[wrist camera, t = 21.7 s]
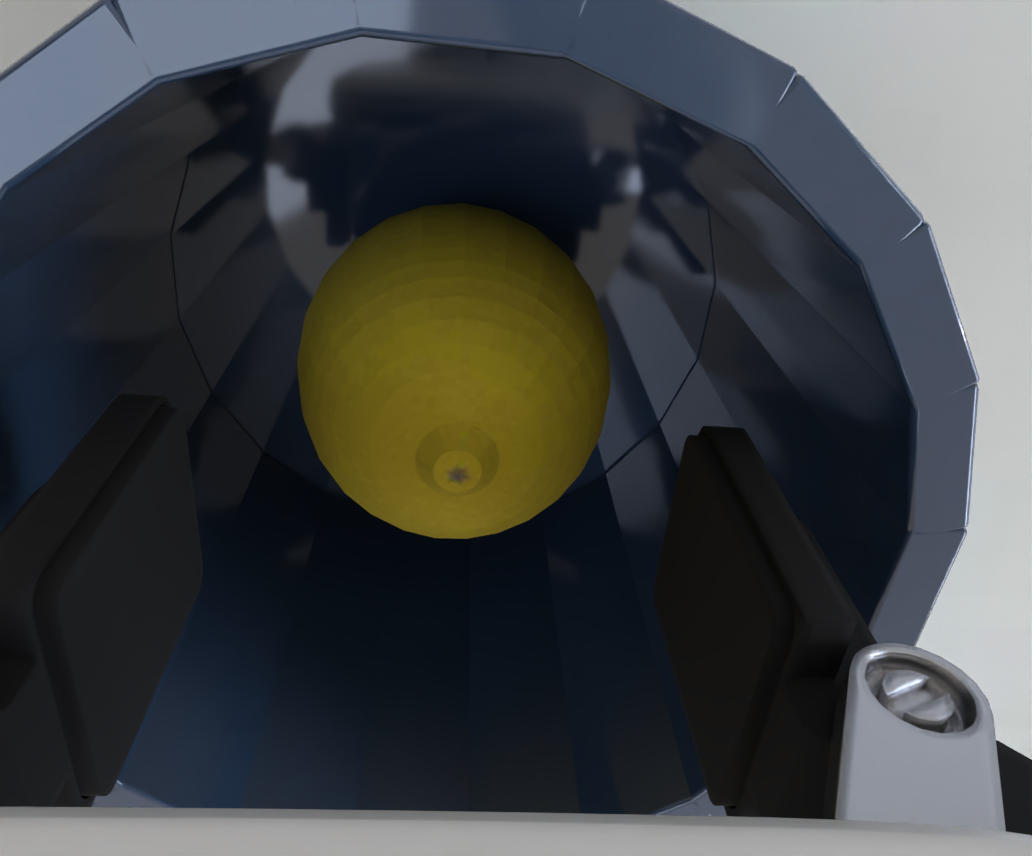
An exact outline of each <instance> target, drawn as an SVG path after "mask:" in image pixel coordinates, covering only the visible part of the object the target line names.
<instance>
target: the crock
mask: <svg viewBox="0 0 1032 856" xmlns="http://www.w3.org/2000/svg"><path fill="white" fill-rule="evenodd" d="M459 203H464V204H470V205H475V206H480V207H485V208H490V209H495V210H500V211H502V212H504V213H506V214H508V215H510V216H512V217H515V218H517V219H519V220H521V221H523V222H525V223H527V224H529V225H531V226H533V227H535V228H537V229H538V230H539V231H540V232H541V233H543V234H544V235H545V236H546V237H547V238H548V239H550V240H551V241H552V242H553V243H554V244H555V245H557V246H558V247H559V248H560V249H561V250H562V251H564V252H565V253H566V254H567V255H568V256H569V258H570V259H571V260H572V262H573V263H574V265H575V266H576V268H577V269H578V271H579V272H580V274H581V275H582V276H583V278H584V279H585V281H586V282H587V284H588V285H589V287H590V288H591V290H592V292H593V294H594V297H595V300H596V303H597V306H598V309H599V311H600V314H601V317H602V320H603V323H604V326H605V329H606V332H607V336H608V344H609V361H610V378H611V383H610V393H609V398H608V403H607V408H606V413H605V417H604V422H603V427H602V431H601V434H600V437H599V440H598V442H597V444H596V446H595V448H594V449H593V451H592V453H591V455H590V457H589V459H588V461H587V463H586V465H585V467H584V469H583V470H582V472H581V473H580V475H579V476H578V477H577V478H576V480H575V481H574V482H573V483H572V484H571V485H570V486H569V487H568V489H567V490H566V491H565V492H564V493H563V494H562V495H561V497H560V498H559V499H558V500H557V501H555V502H554V503H552V504H551V505H550V506H548V507H547V508H545V509H544V510H543V511H541V512H540V513H538V514H537V515H536V516H534V517H533V518H531V519H530V520H528V521H526V522H524V523H521V524H519V525H516V526H514V527H511V528H509V529H507V530H504V531H502V532H499V533H496V534H490V535H485V536H479V537H474V538H468V539H454V538H433V537H429V536H424V535H420V534H416V533H412V532H408V531H404V530H402V529H400V528H398V527H396V526H394V525H392V524H390V523H388V522H386V521H384V520H382V519H380V518H378V517H376V516H374V515H372V514H370V513H369V512H368V511H366V510H365V509H364V508H363V507H361V506H360V505H359V504H358V503H357V502H355V501H354V500H353V499H352V498H350V497H349V496H348V495H347V494H345V493H344V491H343V490H342V489H341V487H340V486H339V485H338V483H337V482H336V481H335V479H334V478H333V477H332V475H331V474H330V473H329V471H328V470H327V469H326V467H325V466H324V465H323V463H322V462H321V460H320V459H319V456H318V454H317V451H316V449H315V446H314V444H313V441H312V439H311V436H310V434H309V431H308V429H307V426H306V423H305V421H304V418H303V413H302V407H301V398H300V389H299V380H298V370H297V361H298V353H299V348H300V342H301V336H302V330H303V324H304V319H305V315H306V312H307V310H308V308H309V306H310V304H311V302H312V300H313V297H314V295H315V293H316V291H317V289H318V287H319V285H320V283H321V281H322V279H323V277H324V275H325V274H326V272H327V271H328V269H329V268H330V267H331V266H332V265H333V264H334V263H335V261H336V260H337V259H338V258H339V257H340V256H341V255H342V253H343V252H344V251H345V250H346V249H347V248H348V247H349V245H350V244H351V243H352V242H353V241H354V240H355V239H356V238H358V237H360V236H361V235H363V234H364V233H366V232H367V231H369V230H370V229H372V228H373V227H375V226H376V225H378V224H379V223H381V222H382V221H384V220H386V219H387V218H389V217H392V216H395V215H398V214H401V213H404V212H407V211H411V210H414V209H417V208H420V207H423V206H426V205H443V204H459ZM978 381H979V376H978V373H977V369H976V366H975V363H974V360H973V357H972V354H971V351H970V348H969V345H968V342H967V338H966V335H965V332H964V329H963V326H962V323H961V320H960V317H959V314H958V311H957V308H956V304H955V301H954V298H953V295H952V292H951V289H950V286H949V283H948V280H947V277H946V273H945V270H944V267H943V264H942V261H941V258H940V255H939V252H938V249H937V246H936V243H935V239H934V236H933V233H932V230H931V227H930V225H929V224H928V223H927V222H925V221H924V219H923V215H922V213H921V212H920V211H919V210H918V208H917V207H916V206H915V205H914V204H913V203H912V201H911V200H910V199H909V198H908V197H907V196H906V194H905V193H904V192H903V191H902V190H901V189H900V187H899V186H898V185H897V184H896V183H895V182H894V180H893V179H892V178H891V177H890V176H889V175H888V173H887V172H886V171H885V170H884V169H883V168H882V166H881V165H880V164H879V163H878V162H877V161H876V159H875V158H874V157H873V156H872V155H871V154H870V152H869V151H868V150H867V149H866V148H865V147H864V145H863V144H862V143H861V142H860V141H859V140H858V139H857V137H856V136H855V135H854V134H853V133H852V132H851V130H850V129H849V128H848V127H847V126H846V125H845V123H844V122H843V121H842V120H841V119H840V118H839V116H838V115H837V114H836V113H835V112H834V111H833V109H832V108H831V107H830V106H829V105H828V104H827V102H826V101H825V100H824V99H823V98H822V97H821V95H820V94H819V93H818V92H817V91H816V90H815V88H814V87H813V86H812V85H811V84H810V83H809V81H808V80H807V79H806V78H805V77H804V76H802V75H800V74H797V70H796V69H795V68H794V67H793V66H791V65H789V64H787V63H785V62H784V61H782V60H780V59H778V58H776V57H774V56H772V55H770V54H768V53H766V52H765V51H763V50H761V49H759V48H757V47H755V46H753V45H751V44H749V43H747V42H745V41H744V40H742V39H740V38H738V37H736V36H734V35H732V34H730V33H728V32H726V31H725V30H723V29H721V28H719V27H717V26H715V25H713V24H711V23H709V22H707V21H705V20H704V19H702V18H700V17H698V16H696V15H694V14H692V13H690V12H688V11H686V10H684V9H683V8H681V7H679V6H677V5H675V4H673V3H671V2H669V1H667V0H97V1H96V2H95V3H93V4H92V5H91V6H89V7H88V8H87V9H85V10H84V11H83V12H81V13H80V14H79V15H77V16H76V17H74V18H73V19H72V20H70V21H69V22H68V23H66V24H65V25H64V26H62V27H61V28H60V29H58V30H57V31H56V32H54V33H53V34H52V35H50V36H49V37H48V38H46V39H45V40H44V41H42V42H41V43H40V44H38V45H37V46H36V47H34V48H33V49H32V50H30V51H29V52H28V53H26V54H25V55H24V56H22V57H21V58H19V59H18V60H17V61H15V62H14V63H13V64H11V65H10V66H9V67H7V68H6V69H5V70H3V71H2V72H1V73H0V532H1V531H2V530H3V529H4V527H5V526H6V525H7V524H8V523H9V521H10V520H11V519H12V518H13V517H14V515H15V514H16V513H17V512H18V511H19V509H20V508H21V507H22V506H23V504H24V503H25V502H26V501H27V500H28V498H29V497H30V496H31V495H32V494H33V493H34V492H35V491H36V490H37V489H38V488H40V487H42V486H44V485H45V484H46V482H47V481H48V480H49V479H50V477H51V476H52V475H53V474H54V473H55V471H56V470H57V469H58V468H59V466H60V465H61V464H62V463H63V462H64V460H65V459H66V458H67V457H68V455H69V454H70V453H71V452H72V451H73V449H74V448H75V447H76V446H77V444H78V443H79V442H80V441H81V440H82V438H83V437H84V436H85V435H86V433H87V432H88V431H89V430H90V429H91V427H92V426H93V425H94V424H95V423H96V421H97V420H98V419H99V418H100V416H101V415H102V414H103V413H104V412H105V410H106V409H107V408H108V407H109V405H110V404H111V403H112V402H113V401H114V399H115V398H116V397H117V396H118V395H120V394H133V395H151V396H165V397H166V398H167V399H168V401H169V403H170V406H171V407H179V408H181V409H182V411H183V413H184V418H185V424H186V432H187V440H188V449H189V457H190V465H191V473H192V481H193V489H194V497H195V505H196V513H197V521H198V529H199V537H200V545H201V553H202V561H203V576H202V583H201V587H200V590H199V593H198V595H197V597H196V600H195V602H194V604H193V607H192V609H191V611H190V614H189V616H188V618H187V620H186V623H185V625H184V627H183V630H182V632H181V634H180V637H179V639H178V641H177V643H176V646H175V648H174V650H173V653H172V655H171V657H170V660H169V662H168V664H167V666H166V669H165V671H164V673H163V676H162V678H161V680H160V683H159V685H158V687H157V690H156V692H155V694H154V696H153V699H152V701H151V703H150V706H149V708H148V710H147V713H146V715H145V717H144V719H143V722H142V724H141V726H140V729H139V731H138V733H137V736H136V738H135V740H134V742H133V745H132V747H131V749H130V752H129V754H128V756H127V759H126V761H125V763H124V765H123V768H122V770H121V772H120V775H119V777H118V779H117V782H116V784H115V786H114V788H113V790H112V791H111V792H110V794H109V795H107V796H96V797H95V800H94V802H93V804H92V806H91V807H134V808H244V809H325V810H398V811H464V812H528V813H583V814H632V815H681V816H727V815H726V812H725V808H724V806H715V805H713V804H712V802H711V801H710V799H709V796H708V793H707V789H706V786H705V782H704V779H703V775H702V772H701V768H700V765H699V761H698V757H697V754H696V750H695V747H694V743H693V740H692V736H691V733H690V729H689V726H688V722H687V719H686V715H685V712H684V708H683V704H682V701H681V697H680V694H679V690H678V687H677V683H676V680H675V676H674V673H673V669H672V666H671V662H670V659H669V655H668V652H667V648H666V644H665V641H664V637H663V634H662V630H661V627H660V623H659V620H658V616H657V613H656V609H655V604H654V582H655V577H656V572H657V568H658V563H659V558H660V554H661V549H662V545H663V540H664V535H665V531H666V526H667V521H668V517H669V512H670V508H671V503H672V498H673V494H674V489H675V485H676V480H677V475H678V471H679V466H680V461H681V457H682V452H683V448H684V444H685V440H686V438H687V436H689V435H698V433H699V431H700V429H701V428H702V427H703V426H719V427H737V428H744V429H745V430H746V431H747V433H748V435H749V437H750V438H751V440H752V442H753V443H754V445H755V447H756V449H757V450H758V452H759V454H760V455H761V457H762V459H763V460H764V462H765V464H766V466H767V467H768V469H769V471H770V472H771V474H772V476H773V478H774V479H775V481H776V483H777V484H778V486H779V488H780V490H781V491H782V493H783V495H784V496H785V498H786V500H787V502H788V503H789V505H790V507H791V508H792V510H793V512H794V514H795V515H796V517H797V519H798V520H801V521H803V522H804V523H805V524H806V525H807V526H808V528H809V529H810V531H811V532H812V534H813V536H814V537H815V539H816V541H817V543H818V544H819V546H820V548H821V549H822V551H823V553H824V554H825V556H826V558H827V559H828V561H829V563H830V564H831V566H832V568H833V569H834V571H835V573H836V574H837V576H838V578H839V579H840V581H841V583H842V585H843V586H844V588H845V590H846V591H847V593H848V595H849V596H850V598H851V600H852V601H853V603H854V605H855V606H856V608H857V610H858V611H859V613H860V615H861V616H862V618H863V620H864V621H865V623H866V625H867V627H868V628H869V630H870V632H871V633H872V635H873V637H874V638H875V640H876V642H877V643H900V644H905V645H909V646H914V647H915V646H916V643H917V641H918V639H919V637H920V635H921V632H922V630H923V628H924V626H925V624H926V622H927V619H928V617H929V615H930V613H931V611H932V608H933V606H934V604H935V602H936V600H937V598H938V595H939V593H940V591H941V589H942V587H943V584H944V582H945V580H946V578H947V576H948V574H949V571H950V569H951V567H952V565H953V563H954V560H955V558H956V556H957V554H958V552H959V549H960V547H961V545H962V543H963V541H964V539H965V536H966V533H967V531H966V528H965V527H967V525H968V520H969V507H970V494H971V481H972V468H973V455H974V442H975V429H976V416H977V403H978V390H979V389H978V386H977V382H978Z"/></svg>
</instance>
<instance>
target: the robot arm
mask: <svg viewBox="0 0 1032 856" xmlns="http://www.w3.org/2000/svg"><path fill="white" fill-rule="evenodd" d="M202 576H203V561H202V553H201V545H200V537H199V529H198V521H197V513H196V505H195V497H194V489H193V481H192V473H191V465H190V457H189V449H188V440H187V432H186V424H185V418H184V413H183V411H182V409H181V408H179V407H171V406H170V403H169V401H168V399H167V398H166V397H165V396H151V395H133V394H120V395H118V396H117V397H116V398H115V399H114V401H113V402H112V403H111V404H110V405H109V407H108V408H107V409H106V410H105V412H104V413H103V414H102V415H101V416H100V418H99V419H98V420H97V421H96V423H95V424H94V425H93V426H92V427H91V429H90V430H89V431H88V432H87V433H86V435H85V436H84V437H83V438H82V440H81V441H80V442H79V443H78V444H77V446H76V447H75V448H74V449H73V451H72V452H71V453H70V454H69V455H68V457H67V458H66V459H65V460H64V462H63V463H62V464H61V465H60V466H59V468H58V469H57V470H56V471H55V473H54V474H53V475H52V476H51V477H50V479H49V480H48V481H47V482H46V484H45V485H44V486H42V487H40V488H38V489H37V490H36V491H35V492H34V493H33V494H32V495H31V496H30V497H29V498H28V500H27V501H26V502H25V503H24V504H23V506H22V507H21V508H20V509H19V511H18V512H17V513H16V514H15V515H14V517H13V518H12V519H11V520H10V521H9V523H8V524H7V525H6V526H5V527H4V529H3V530H2V531H1V532H0V856H1032V760H1031V759H1029V758H1027V757H1025V756H1024V755H1022V754H1020V753H1018V752H1017V751H1015V750H1013V749H1011V748H1009V747H1008V746H1006V745H1004V744H1002V743H1001V742H999V741H997V740H996V738H995V729H994V720H993V714H992V711H991V708H990V705H989V702H988V699H987V698H986V696H985V695H984V694H983V692H982V691H981V689H980V688H979V687H978V685H977V684H976V683H975V682H974V681H973V680H972V679H971V678H970V677H968V676H967V675H966V674H965V673H964V672H963V671H962V670H961V669H959V668H958V667H956V666H955V665H953V664H951V663H950V662H948V661H947V660H945V659H943V658H942V657H940V656H938V655H935V654H933V653H930V652H928V651H926V650H923V649H921V648H918V647H914V646H909V645H905V644H900V643H877V642H876V640H875V638H874V637H873V635H872V633H871V632H870V630H869V628H868V627H867V625H866V623H865V621H864V620H863V618H862V616H861V615H860V613H859V611H858V610H857V608H856V606H855V605H854V603H853V601H852V600H851V598H850V596H849V595H848V593H847V591H846V590H845V588H844V586H843V585H842V583H841V581H840V579H839V578H838V576H837V574H836V573H835V571H834V569H833V568H832V566H831V564H830V563H829V561H828V559H827V558H826V556H825V554H824V553H823V551H822V549H821V548H820V546H819V544H818V543H817V541H816V539H815V537H814V536H813V534H812V532H811V531H810V529H809V528H808V526H807V525H806V524H805V523H804V522H803V521H801V520H798V519H797V517H796V515H795V514H794V512H793V510H792V508H791V507H790V505H789V503H788V502H787V500H786V498H785V496H784V495H783V493H782V491H781V490H780V488H779V486H778V484H777V483H776V481H775V479H774V478H773V476H772V474H771V472H770V471H769V469H768V467H767V466H766V464H765V462H764V460H763V459H762V457H761V455H760V454H759V452H758V450H757V449H756V447H755V445H754V443H753V442H752V440H751V438H750V437H749V435H748V433H747V431H746V430H745V429H744V428H737V427H719V426H703V427H702V428H701V429H700V431H699V433H698V435H689V436H687V438H686V440H685V444H684V448H683V452H682V457H681V461H680V466H679V471H678V475H677V480H676V485H675V489H674V494H673V498H672V503H671V508H670V512H669V517H668V521H667V526H666V531H665V535H664V540H663V545H662V549H661V554H660V558H659V563H658V568H657V572H656V577H655V582H654V604H655V609H656V613H657V616H658V620H659V623H660V627H661V630H662V634H663V637H664V641H665V644H666V648H667V652H668V655H669V659H670V662H671V666H672V669H673V673H674V676H675V680H676V683H677V687H678V690H679V694H680V697H681V701H682V704H683V708H684V712H685V715H686V719H687V722H688V726H689V729H690V733H691V736H692V740H693V743H694V747H695V750H696V754H697V757H698V761H699V765H700V768H701V772H702V775H703V779H704V782H705V786H706V789H707V793H708V796H709V799H710V801H711V802H712V804H713V805H715V806H724V808H725V812H726V815H727V816H681V815H632V814H583V813H528V812H464V811H398V810H325V809H244V808H134V807H91V806H92V804H93V802H94V800H95V797H96V796H107V795H109V794H110V792H111V791H112V790H113V788H114V786H115V784H116V782H117V779H118V777H119V775H120V772H121V770H122V768H123V765H124V763H125V761H126V759H127V756H128V754H129V752H130V749H131V747H132V745H133V742H134V740H135V738H136V736H137V733H138V731H139V729H140V726H141V724H142V722H143V719H144V717H145V715H146V713H147V710H148V708H149V706H150V703H151V701H152V699H153V696H154V694H155V692H156V690H157V687H158V685H159V683H160V680H161V678H162V676H163V673H164V671H165V669H166V666H167V664H168V662H169V660H170V657H171V655H172V653H173V650H174V648H175V646H176V643H177V641H178V639H179V637H180V634H181V632H182V630H183V627H184V625H185V623H186V620H187V618H188V616H189V614H190V611H191V609H192V607H193V604H194V602H195V600H196V597H197V595H198V593H199V590H200V587H201V583H202Z"/></svg>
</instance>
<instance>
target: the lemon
mask: <svg viewBox="0 0 1032 856" xmlns="http://www.w3.org/2000/svg"><path fill="white" fill-rule="evenodd" d="M297 370H298V380H299V389H300V398H301V407H302V413H303V418H304V421H305V423H306V426H307V429H308V431H309V434H310V436H311V439H312V441H313V444H314V446H315V449H316V451H317V454H318V456H319V459H320V460H321V462H322V463H323V465H324V466H325V467H326V469H327V470H328V471H329V473H330V474H331V475H332V477H333V478H334V479H335V481H336V482H337V483H338V485H339V486H340V487H341V489H342V490H343V491H344V493H345V494H347V495H348V496H349V497H350V498H352V499H353V500H354V501H355V502H357V503H358V504H359V505H360V506H361V507H363V508H364V509H365V510H366V511H368V512H369V513H370V514H372V515H374V516H376V517H378V518H380V519H382V520H384V521H386V522H388V523H390V524H392V525H394V526H396V527H398V528H400V529H402V530H404V531H408V532H412V533H416V534H420V535H424V536H429V537H433V538H454V539H468V538H474V537H479V536H485V535H490V534H496V533H499V532H502V531H504V530H507V529H509V528H511V527H514V526H516V525H519V524H521V523H524V522H526V521H528V520H530V519H531V518H533V517H534V516H536V515H537V514H538V513H540V512H541V511H543V510H544V509H545V508H547V507H548V506H550V505H551V504H552V503H554V502H555V501H557V500H558V499H559V498H560V497H561V495H562V494H563V493H564V492H565V491H566V490H567V489H568V487H569V486H570V485H571V484H572V483H573V482H574V481H575V480H576V478H577V477H578V476H579V475H580V473H581V472H582V470H583V469H584V467H585V465H586V463H587V461H588V459H589V457H590V455H591V453H592V451H593V449H594V448H595V446H596V444H597V442H598V440H599V437H600V434H601V431H602V427H603V422H604V417H605V413H606V408H607V403H608V398H609V393H610V383H611V378H610V361H609V344H608V336H607V332H606V329H605V326H604V323H603V320H602V317H601V314H600V311H599V309H598V306H597V303H596V300H595V297H594V294H593V292H592V290H591V288H590V287H589V285H588V284H587V282H586V281H585V279H584V278H583V276H582V275H581V274H580V272H579V271H578V269H577V268H576V266H575V265H574V263H573V262H572V260H571V259H570V258H569V256H568V255H567V254H566V253H565V252H564V251H562V250H561V249H560V248H559V247H558V246H557V245H555V244H554V243H553V242H552V241H551V240H550V239H548V238H547V237H546V236H545V235H544V234H543V233H541V232H540V231H539V230H538V229H537V228H535V227H533V226H531V225H529V224H527V223H525V222H523V221H521V220H519V219H517V218H515V217H512V216H510V215H508V214H506V213H504V212H502V211H500V210H495V209H490V208H485V207H480V206H475V205H470V204H464V203H459V204H443V205H426V206H423V207H420V208H417V209H414V210H411V211H407V212H404V213H401V214H398V215H395V216H392V217H389V218H387V219H386V220H384V221H382V222H381V223H379V224H378V225H376V226H375V227H373V228H372V229H370V230H369V231H367V232H366V233H364V234H363V235H361V236H360V237H358V238H356V239H355V240H354V241H353V242H352V243H351V244H350V245H349V247H348V248H347V249H346V250H345V251H344V252H343V253H342V255H341V256H340V257H339V258H338V259H337V260H336V261H335V263H334V264H333V265H332V266H331V267H330V268H329V269H328V271H327V272H326V274H325V275H324V277H323V279H322V281H321V283H320V285H319V287H318V289H317V291H316V293H315V295H314V297H313V300H312V302H311V304H310V306H309V308H308V310H307V312H306V315H305V319H304V324H303V330H302V336H301V342H300V348H299V353H298V361H297Z"/></svg>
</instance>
